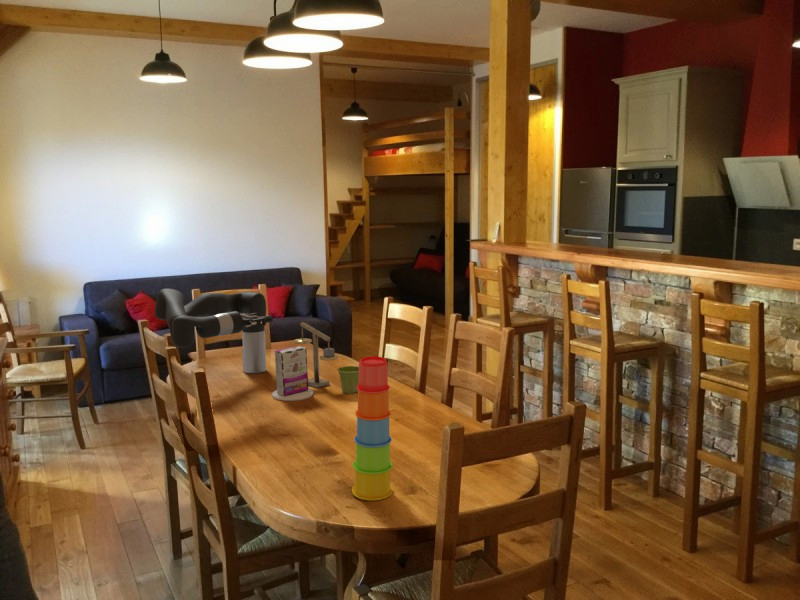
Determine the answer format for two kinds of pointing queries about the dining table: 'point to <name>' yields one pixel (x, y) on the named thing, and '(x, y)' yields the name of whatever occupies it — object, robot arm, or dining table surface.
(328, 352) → the balance
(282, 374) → the candy bar box
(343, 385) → the plant pot
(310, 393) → the dish
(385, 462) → the stacking cups
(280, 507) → the dining table surface
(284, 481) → the dining table surface
